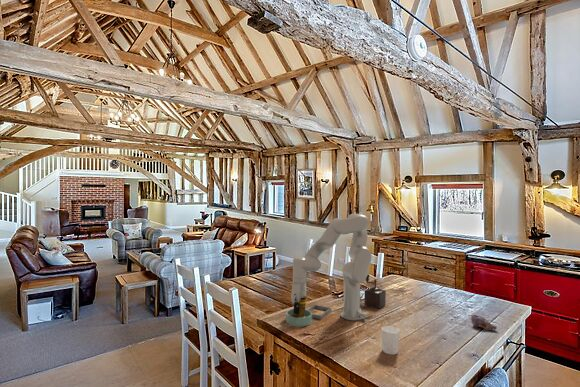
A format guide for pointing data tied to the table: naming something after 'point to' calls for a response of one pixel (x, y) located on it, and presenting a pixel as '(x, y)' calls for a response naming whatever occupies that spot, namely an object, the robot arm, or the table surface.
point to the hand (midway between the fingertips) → (299, 311)
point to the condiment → (300, 308)
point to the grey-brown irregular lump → (482, 323)
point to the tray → (321, 309)
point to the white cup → (390, 339)
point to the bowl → (299, 321)
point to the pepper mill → (374, 296)
